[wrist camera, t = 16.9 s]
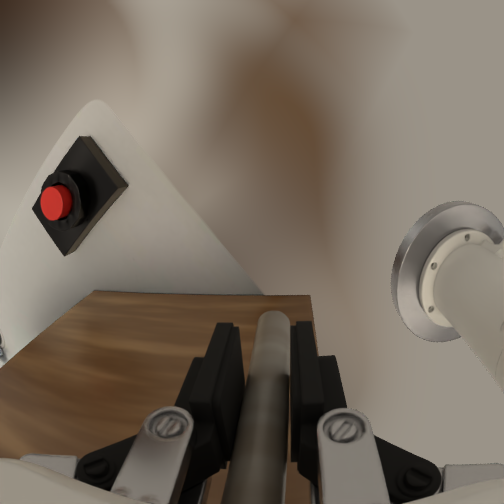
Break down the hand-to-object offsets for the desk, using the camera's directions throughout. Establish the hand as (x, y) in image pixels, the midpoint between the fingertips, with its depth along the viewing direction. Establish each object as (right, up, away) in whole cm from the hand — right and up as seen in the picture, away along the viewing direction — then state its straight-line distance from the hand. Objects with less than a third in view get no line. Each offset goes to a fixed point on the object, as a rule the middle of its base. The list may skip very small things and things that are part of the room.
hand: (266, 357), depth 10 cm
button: (-21, +9, +17) cm, 29 cm away
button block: (-21, +10, +21) cm, 31 cm away
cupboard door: (-8, +2, +22) cm, 23 cm away
